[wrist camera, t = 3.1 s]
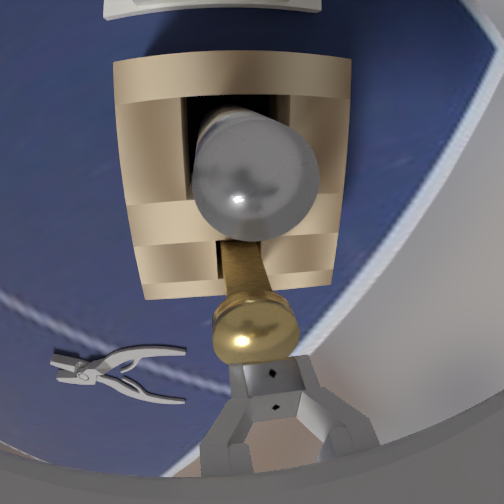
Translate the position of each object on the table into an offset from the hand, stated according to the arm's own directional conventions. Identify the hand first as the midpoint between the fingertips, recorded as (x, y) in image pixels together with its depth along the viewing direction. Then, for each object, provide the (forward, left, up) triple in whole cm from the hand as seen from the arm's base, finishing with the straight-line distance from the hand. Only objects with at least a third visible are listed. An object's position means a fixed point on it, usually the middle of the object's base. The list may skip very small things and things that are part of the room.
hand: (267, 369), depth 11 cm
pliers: (-13, -16, -14) cm, 25 cm away
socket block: (0, +5, -14) cm, 14 cm away
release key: (0, 0, -10) cm, 10 cm away
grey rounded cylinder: (0, +7, -14) cm, 15 cm away
